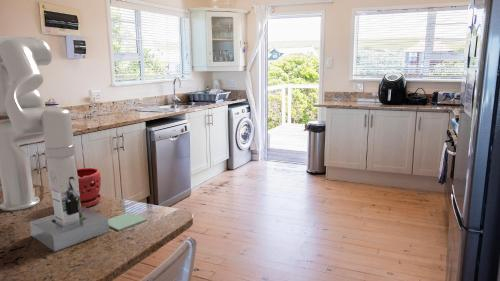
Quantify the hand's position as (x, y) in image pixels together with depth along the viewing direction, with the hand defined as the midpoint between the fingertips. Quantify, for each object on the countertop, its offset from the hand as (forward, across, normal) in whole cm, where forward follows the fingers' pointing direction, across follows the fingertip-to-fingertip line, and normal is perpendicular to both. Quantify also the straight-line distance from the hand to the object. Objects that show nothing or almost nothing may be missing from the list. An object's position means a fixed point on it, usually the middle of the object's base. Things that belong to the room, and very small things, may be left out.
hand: (67, 210), depth 113 cm
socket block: (+7, 0, 0) cm, 7 cm away
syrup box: (+7, 0, 0) cm, 7 cm away
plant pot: (+8, -22, +15) cm, 28 cm away
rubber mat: (+7, +5, +15) cm, 17 cm away
